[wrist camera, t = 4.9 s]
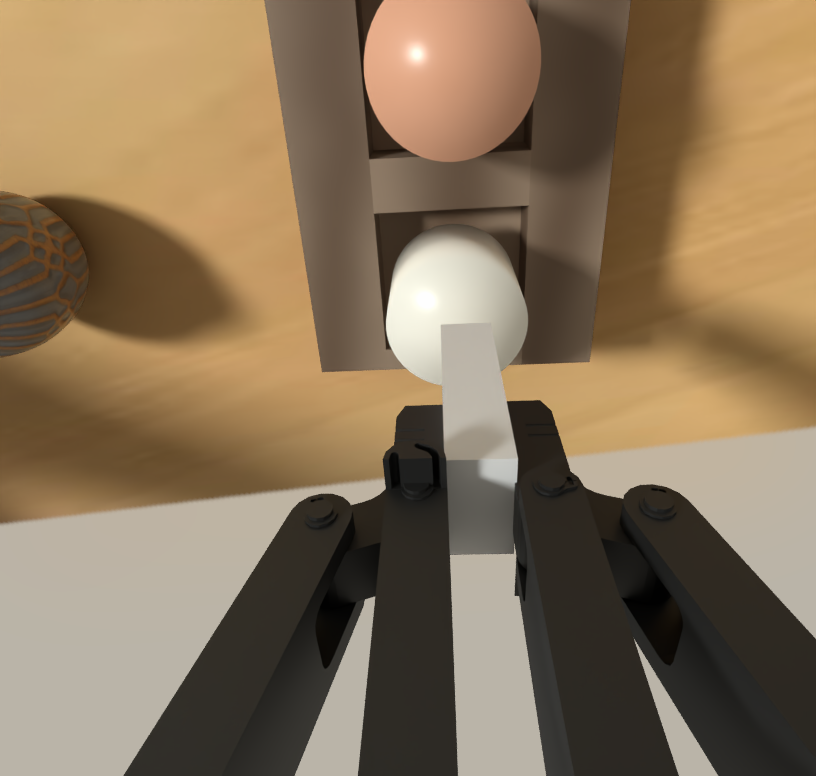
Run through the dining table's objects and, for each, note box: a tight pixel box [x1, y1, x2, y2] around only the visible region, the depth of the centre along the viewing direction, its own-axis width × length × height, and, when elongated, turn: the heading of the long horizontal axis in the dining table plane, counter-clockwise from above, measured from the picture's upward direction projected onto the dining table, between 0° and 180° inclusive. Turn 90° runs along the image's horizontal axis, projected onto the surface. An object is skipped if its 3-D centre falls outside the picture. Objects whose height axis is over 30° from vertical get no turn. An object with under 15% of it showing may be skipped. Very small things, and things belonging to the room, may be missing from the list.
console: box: [265, 0, 631, 372], centre depth 22 cm, size 12×24×4 cm, turn 3°
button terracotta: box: [364, 0, 541, 162], centre depth 18 cm, size 5×5×4 cm
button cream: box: [386, 224, 528, 385], centre depth 22 cm, size 5×5×4 cm
